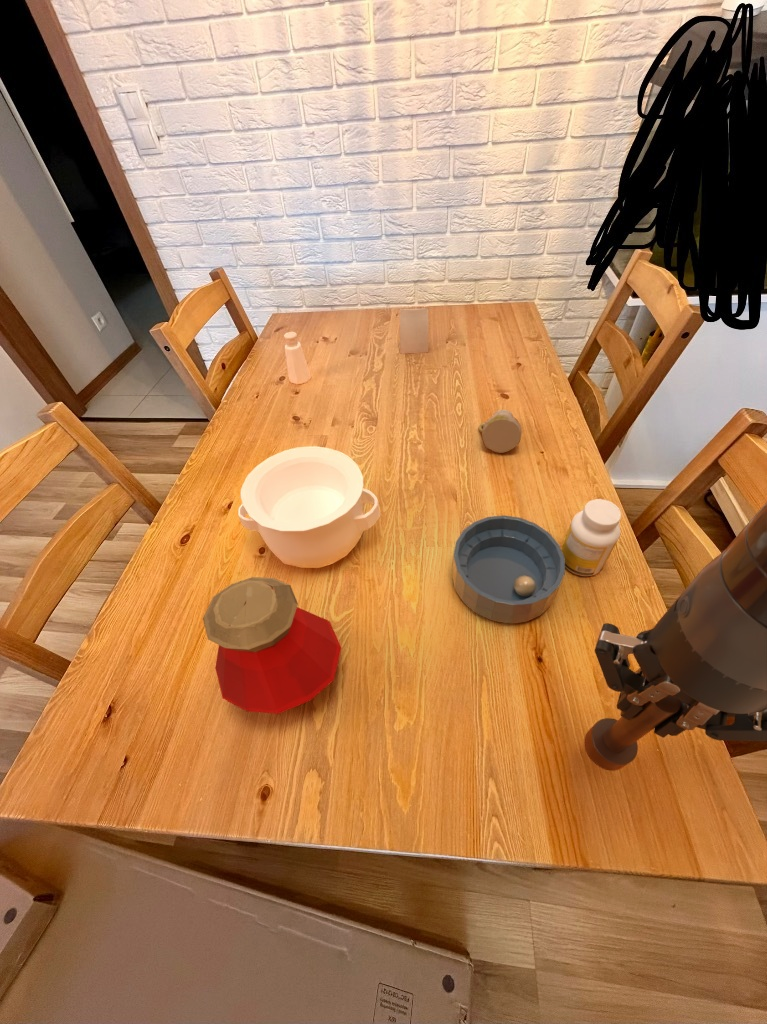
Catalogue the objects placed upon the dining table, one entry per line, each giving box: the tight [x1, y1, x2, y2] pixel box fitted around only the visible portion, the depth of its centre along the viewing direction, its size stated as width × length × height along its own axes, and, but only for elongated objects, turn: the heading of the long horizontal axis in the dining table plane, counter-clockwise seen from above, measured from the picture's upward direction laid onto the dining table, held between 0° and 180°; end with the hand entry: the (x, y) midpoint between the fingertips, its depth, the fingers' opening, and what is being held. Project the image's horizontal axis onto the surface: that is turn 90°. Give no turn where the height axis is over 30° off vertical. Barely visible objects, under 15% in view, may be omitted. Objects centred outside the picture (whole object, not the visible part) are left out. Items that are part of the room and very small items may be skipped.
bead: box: [514, 575, 536, 596], centre depth 66 cm, size 3×3×3 cm
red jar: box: [202, 576, 342, 715], centre depth 54 cm, size 16×14×20 cm
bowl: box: [451, 514, 566, 624], centre depth 67 cm, size 15×15×6 cm
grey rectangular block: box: [398, 307, 430, 355], centre depth 110 cm, size 4×7×10 cm, turn 89°
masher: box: [583, 695, 681, 772], centre depth 43 cm, size 4×4×16 cm
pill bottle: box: [560, 498, 622, 577], centre depth 66 cm, size 6×6×12 cm
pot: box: [237, 445, 381, 569], centre depth 72 cm, size 22×17×12 cm
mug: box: [477, 409, 523, 454], centre depth 88 cm, size 8×10×10 cm
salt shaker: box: [283, 331, 312, 385], centre depth 104 cm, size 5×5×11 cm
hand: (643, 716), depth 41 cm, fingers closed on masher, 2 cm apart
